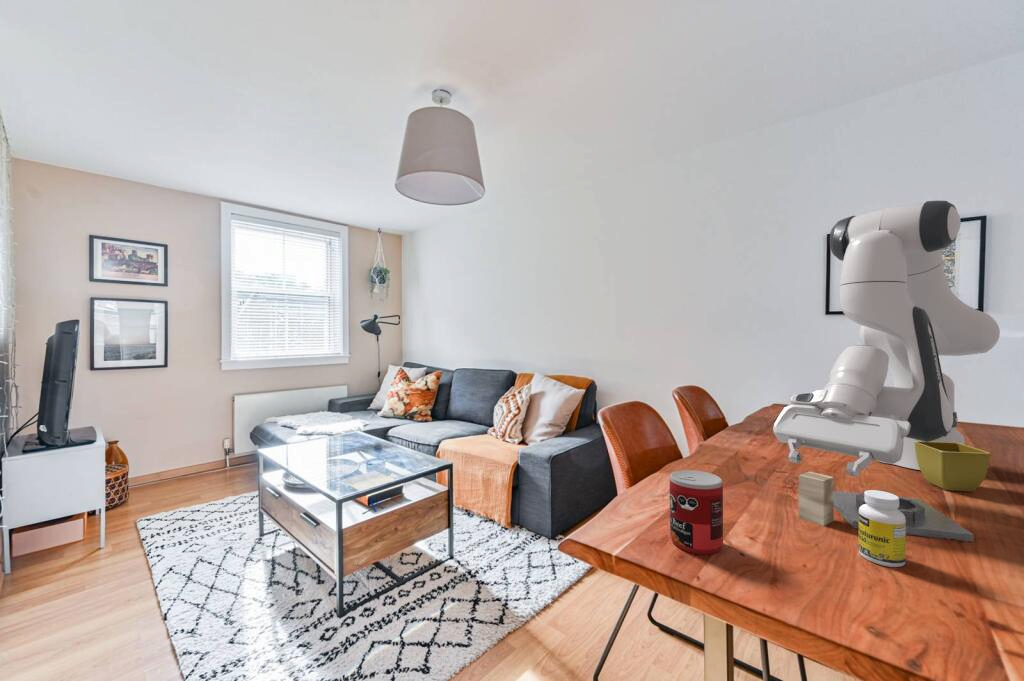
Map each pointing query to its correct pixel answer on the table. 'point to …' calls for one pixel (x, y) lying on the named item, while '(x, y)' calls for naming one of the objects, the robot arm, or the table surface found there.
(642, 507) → the table surface
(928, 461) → the flower pot
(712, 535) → the canned food
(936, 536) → the grey square socket board
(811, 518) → the birch block
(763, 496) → the table surface
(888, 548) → the supplement bottle
